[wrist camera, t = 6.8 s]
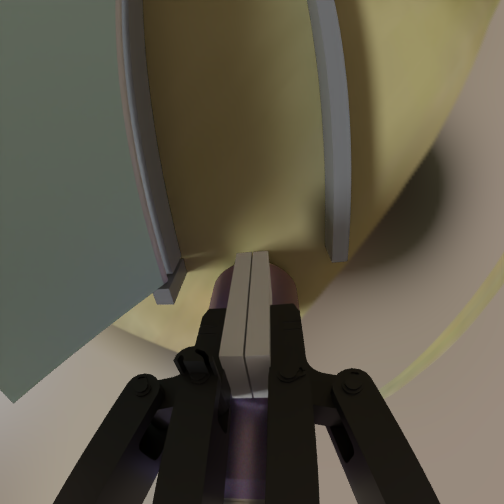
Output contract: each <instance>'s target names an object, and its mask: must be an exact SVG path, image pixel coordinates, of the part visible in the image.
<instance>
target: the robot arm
mask: <svg viewBox="0 0 504 504" xmlns="http://www.w3.org/2000/svg"><path fill="white" fill-rule="evenodd" d="M174 363H175V365H176V367H177V368H178V370H179V372H180V375H178V376H175V377H171V378H167V379H162V380H157V378H156V377H154V376H153V375H151V374H140V375H137V376H135V377H133V378H132V379H131V380H130V381H129V382H128V384H127V385H126V387H125V388H124V390H123V391H122V393H121V394H120V396H119V397H118V399H117V400H116V402H115V404H114V405H113V406H112V408H111V410H110V411H109V413H108V414H107V416H106V417H105V419H104V420H103V422H102V424H101V425H100V427H99V428H98V430H97V432H96V433H95V435H94V436H93V438H92V439H91V441H90V443H89V444H88V446H87V448H86V449H85V451H84V452H83V454H82V455H81V457H80V459H79V460H78V462H77V464H76V465H75V467H74V469H73V470H72V472H71V474H70V476H69V477H68V479H67V480H66V482H65V484H64V485H63V487H62V489H61V490H60V492H59V494H58V496H57V497H56V499H55V501H54V503H53V504H142V503H143V501H144V499H145V497H146V495H147V493H148V491H149V490H150V488H151V486H152V483H153V482H154V480H155V478H156V476H157V474H158V478H157V483H156V488H155V493H154V498H153V504H223V503H224V492H225V480H226V469H227V457H228V446H229V435H230V424H231V413H232V409H231V405H230V395H232V397H233V398H252V392H253V395H254V398H268V418H267V457H266V487H265V504H319V483H318V465H317V450H316V436H315V424H318V425H324V426H326V428H327V431H328V433H329V435H330V438H331V440H332V442H333V445H334V447H335V450H336V452H337V455H338V457H339V459H340V462H341V464H342V467H343V469H344V471H345V474H346V476H347V479H348V481H349V484H350V486H351V488H352V491H353V493H354V496H355V498H356V500H357V502H358V504H440V503H439V500H438V498H437V496H436V494H435V492H434V491H433V488H432V487H431V484H430V482H429V481H428V479H427V477H426V475H425V473H424V471H423V469H422V467H421V466H420V463H419V462H418V460H417V458H416V456H415V454H414V452H413V450H412V448H411V447H410V445H409V443H408V441H407V439H406V438H405V436H404V434H403V432H402V430H401V429H400V427H399V425H398V423H397V422H396V420H395V418H394V416H393V415H392V413H391V411H390V409H389V408H388V406H387V405H386V402H385V401H384V399H383V397H382V396H381V394H380V392H379V390H378V389H377V387H376V385H375V384H374V382H373V380H372V379H371V377H370V376H369V375H368V374H367V373H366V372H364V371H362V370H360V369H353V368H351V369H345V370H343V371H341V372H340V373H338V374H337V375H332V374H326V373H321V372H318V371H316V370H314V369H313V368H312V367H311V366H310V365H309V364H308V362H307V360H306V355H305V347H304V339H303V332H302V324H301V317H300V311H299V310H298V308H297V307H296V306H295V304H294V303H290V304H277V305H272V289H271V278H270V267H269V256H268V251H258V252H253V258H252V252H245V253H237V254H236V259H235V265H234V270H233V276H232V282H231V287H230V293H229V299H228V304H227V308H216V309H209V310H208V311H207V312H206V313H205V314H204V316H203V317H202V321H201V325H200V328H199V332H198V336H197V340H196V344H195V346H192V347H188V348H185V349H183V350H181V351H180V352H179V353H178V354H177V355H176V357H175V359H174ZM158 472H159V473H158Z"/></svg>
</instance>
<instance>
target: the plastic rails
mask: <svg viewBox="0 0 504 504" xmlns="http://www.w3.org/2000/svg"><path fill="white" fill-rule="evenodd" d="M307 3H308V8H309V14H310V20H311V26H312V32H313V39H314V46H315V53H316V61H317V69H318V78H319V87H320V98H321V110H322V123H323V140H324V161H325V247H326V249H327V252H328V254H329V256H330V259H331V261H332V262H344V261H347V260H348V247H349V232H350V210H351V137H350V116H349V102H348V90H347V79H346V70H345V62H344V54H343V47H342V40H341V34H340V28H339V22H338V17H337V12H336V7H335V2H334V0H307ZM122 39H123V55H124V67H125V78H126V87H127V95H128V103H129V110H130V117H131V124H132V130H133V136H134V142H135V148H136V153H137V158H138V163H139V168H140V173H141V178H142V183H143V187H144V192H145V196H146V200H147V205H148V209H149V213H150V217H151V221H152V225H153V229H154V232H155V236H156V240H157V243H158V247H159V251H160V254H161V257H162V261H163V264H164V268H165V271H166V274H167V277H168V281H167V282H166V283H165V284H164V285H162V286H161V287H160V288H158V289H157V290H156V291H154V292H153V295H154V298H155V300H156V303H157V304H174V303H175V301H176V298H177V296H178V293H179V291H180V288H181V286H182V284H183V281H184V279H185V276H186V274H187V271H186V267H185V264H184V260H183V259H180V258H181V253H180V249H179V245H178V241H177V237H176V233H175V229H174V224H173V220H172V216H171V211H170V207H169V202H168V197H167V193H166V188H165V183H164V178H163V173H162V167H161V162H160V156H159V151H158V145H157V139H156V133H155V126H154V120H153V113H152V106H151V98H150V90H149V82H148V73H147V63H146V52H145V39H144V22H143V0H122Z"/></svg>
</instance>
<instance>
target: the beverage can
mask: <svg viewBox="0 0 504 504" xmlns="http://www.w3.org/2000/svg"><path fill="white" fill-rule="evenodd" d="M269 267H270V278H271V289H272V305H277V304H290V303H294V304H295V306H296V307H297V308H298V310H299V303H298V296H297V290H296V286H295V283H294V281H293V280H292V278H291V277H290V276H289V275H288V274H287V273H286V272H285V271H284V270H282V269H281V268H279V267H277V266H276V265H273V264H271V263H269ZM233 270H234V265H233V266H232V267H230V268H228V269H227V270H225V271H224V272H223V273H222V274H221V275H220V276H219V277H218V279H217V280H216V282H215V285H214V289H213V293H212V297H211V302H210V306H209V309H216V308H227V304H228V299H229V293H230V287H231V282H232V276H233ZM299 311H300V310H299ZM230 405H231V409H232V413H231V424H230V435H229V446H228V457H227V469H226V480H225V492H224V503H223V504H265V487H266V457H267V418H268V398H254V395H253V392H252V398H233V397H232V395H230Z"/></svg>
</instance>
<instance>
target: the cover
mask: <svg viewBox="0 0 504 504" xmlns="http://www.w3.org/2000/svg"><path fill="white" fill-rule="evenodd" d="M167 281H168V277H167V274H166V271H165V268H164V264H163V261H162V257H161V254H160V251H159V247H158V243H157V240H156V236H155V232H154V229H153V225H152V221H151V217H150V213H149V209H148V205H147V200H146V196H145V192H144V187H143V183H142V178H141V173H140V168H139V163H138V158H137V153H136V148H135V142H134V136H133V130H132V124H131V117H130V110H129V103H128V95H127V87H126V78H125V67H124V55H123V39H122V0H0V390H1V391H2V392H3V393H4V394H5V395H6V396H7V397H8V398H9V399H10V401H11V402H13V403H15V402H16V401H17V400H18V399H19V398H21V397H22V396H23V395H24V394H25V393H26V392H28V391H29V390H30V389H31V388H32V387H34V386H35V385H36V384H37V383H38V382H40V381H41V380H42V379H43V378H44V377H46V376H47V375H48V374H49V373H51V372H52V371H53V370H54V369H55V368H57V367H58V366H59V365H60V364H62V363H63V362H64V361H65V360H67V359H68V358H69V357H70V356H71V355H73V354H74V353H75V352H76V351H78V350H79V349H80V348H81V347H83V346H84V345H85V344H86V343H88V342H89V341H90V340H92V339H93V338H94V337H95V336H96V335H98V334H99V333H100V332H102V331H103V330H104V329H106V328H107V327H108V326H110V325H111V324H112V323H113V322H115V321H116V320H117V319H119V318H120V317H121V316H123V315H124V314H125V313H126V312H128V311H129V310H130V309H132V308H133V307H134V306H136V305H137V304H138V303H140V302H141V301H142V300H144V299H145V298H146V297H148V296H149V295H150V294H152V293H153V292H154V291H156V290H157V289H158V288H160V287H161V286H162V285H164V284H165V283H166V282H167Z"/></svg>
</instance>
